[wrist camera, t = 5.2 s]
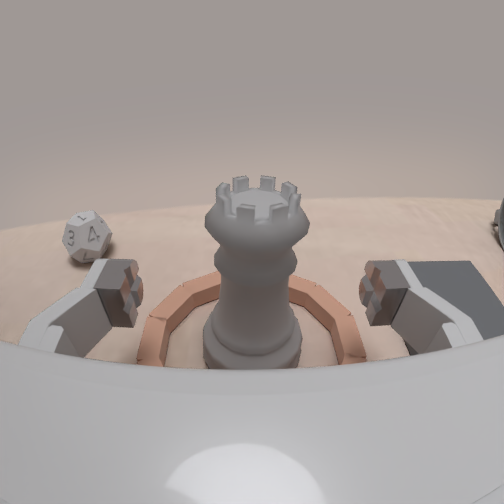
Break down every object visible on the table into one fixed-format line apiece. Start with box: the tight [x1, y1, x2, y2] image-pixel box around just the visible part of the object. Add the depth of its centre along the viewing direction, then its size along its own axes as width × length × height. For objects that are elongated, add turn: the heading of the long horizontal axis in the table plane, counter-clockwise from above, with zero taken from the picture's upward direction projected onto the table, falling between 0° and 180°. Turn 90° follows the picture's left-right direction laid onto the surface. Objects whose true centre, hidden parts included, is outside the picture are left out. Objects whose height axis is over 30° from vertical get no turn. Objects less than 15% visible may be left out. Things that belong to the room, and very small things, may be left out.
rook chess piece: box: [203, 176, 310, 370], centre depth 11 cm, size 4×4×8 cm
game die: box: [62, 210, 112, 263], centre depth 18 cm, size 4×4×3 cm
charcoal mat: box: [404, 261, 504, 356], centre depth 14 cm, size 9×12×1 cm
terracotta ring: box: [136, 271, 366, 367], centre depth 13 cm, size 10×10×1 cm
